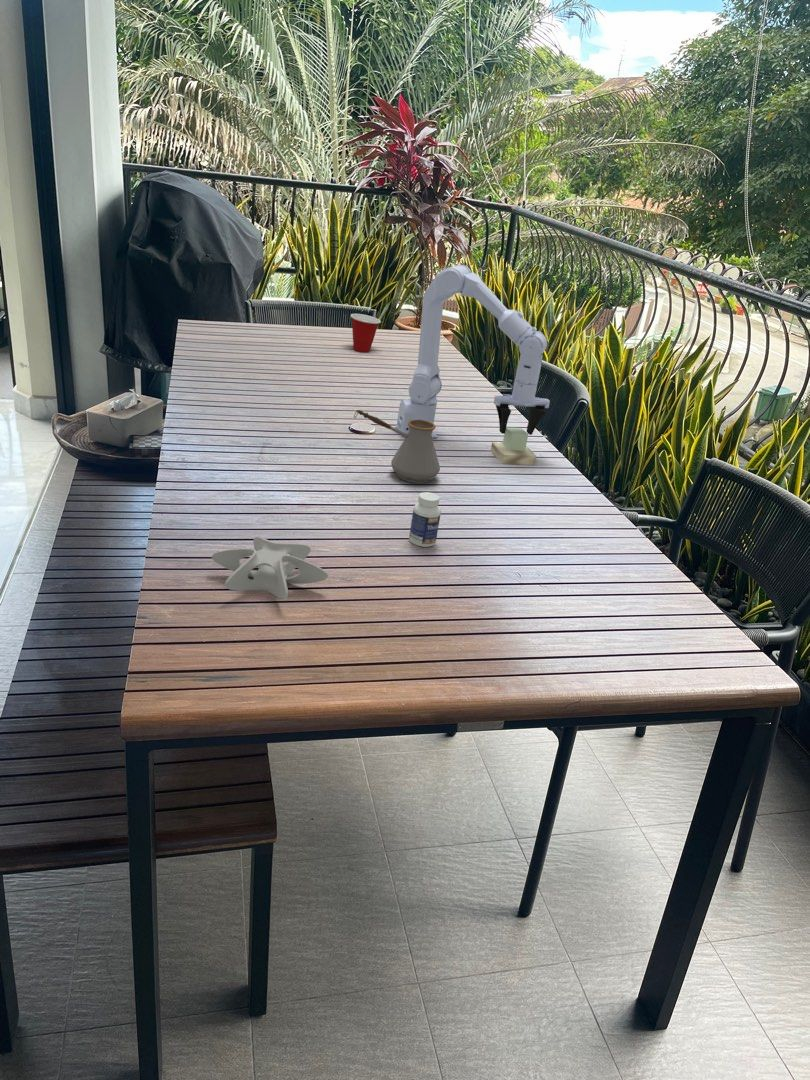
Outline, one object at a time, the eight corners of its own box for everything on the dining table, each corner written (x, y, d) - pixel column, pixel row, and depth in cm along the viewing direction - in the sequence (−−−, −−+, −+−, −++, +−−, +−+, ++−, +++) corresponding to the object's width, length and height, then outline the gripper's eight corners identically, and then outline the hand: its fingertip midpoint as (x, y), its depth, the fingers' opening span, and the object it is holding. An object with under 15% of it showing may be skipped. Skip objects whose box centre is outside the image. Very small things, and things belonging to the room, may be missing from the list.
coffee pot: (433, 469, 202) (443, 409, 195) (442, 487, 191) (452, 425, 185) (345, 462, 198) (352, 401, 191) (349, 481, 187) (357, 417, 181)
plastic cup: (376, 356, 294) (380, 322, 289) (346, 352, 294) (349, 317, 289) (377, 349, 304) (381, 316, 299) (348, 345, 304) (351, 311, 298)
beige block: (501, 465, 212) (503, 454, 210) (490, 452, 219) (492, 442, 218) (534, 467, 214) (536, 456, 213) (521, 454, 222) (524, 443, 220)
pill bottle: (426, 550, 161) (434, 504, 157) (403, 541, 164) (410, 495, 159) (440, 541, 166) (448, 496, 161) (417, 532, 168) (424, 488, 164)
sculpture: (231, 618, 131) (233, 583, 128) (204, 559, 147) (205, 526, 144) (336, 607, 138) (340, 573, 135) (300, 552, 154) (303, 521, 151)
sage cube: (509, 450, 214) (512, 433, 212) (502, 443, 218) (505, 427, 216) (525, 450, 215) (528, 434, 213) (518, 444, 219) (521, 428, 217)
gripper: (505, 384, 204) (495, 437, 210) (559, 387, 208) (547, 439, 214) (495, 376, 210) (485, 427, 216) (547, 379, 214) (536, 429, 220)
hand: (515, 432), depth 215 cm, fingers open, 7 cm apart
